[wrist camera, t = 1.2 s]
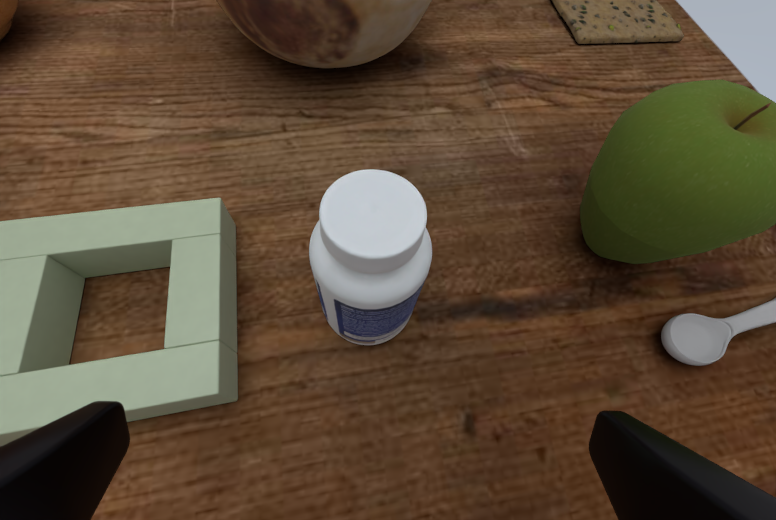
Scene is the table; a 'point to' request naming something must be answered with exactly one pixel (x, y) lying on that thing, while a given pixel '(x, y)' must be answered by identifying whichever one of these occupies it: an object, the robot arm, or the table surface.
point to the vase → (6, 15)
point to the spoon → (710, 333)
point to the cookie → (618, 21)
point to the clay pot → (326, 28)
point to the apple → (683, 174)
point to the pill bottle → (370, 254)
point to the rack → (63, 298)
